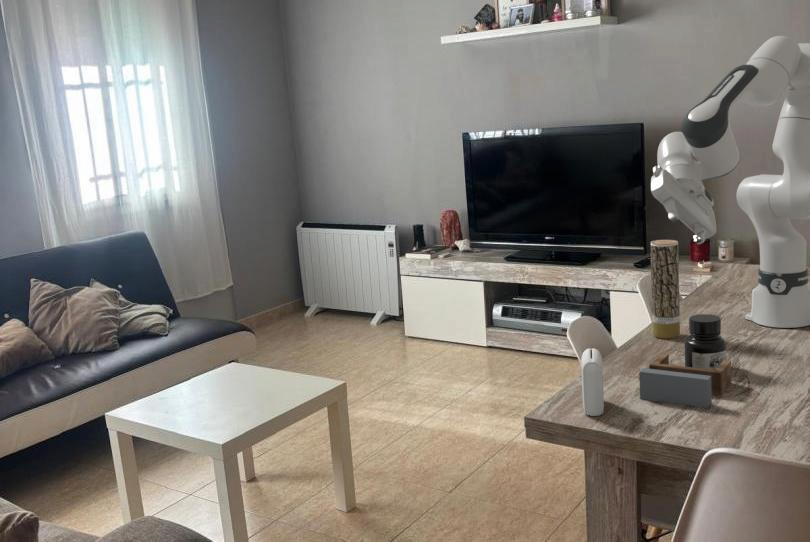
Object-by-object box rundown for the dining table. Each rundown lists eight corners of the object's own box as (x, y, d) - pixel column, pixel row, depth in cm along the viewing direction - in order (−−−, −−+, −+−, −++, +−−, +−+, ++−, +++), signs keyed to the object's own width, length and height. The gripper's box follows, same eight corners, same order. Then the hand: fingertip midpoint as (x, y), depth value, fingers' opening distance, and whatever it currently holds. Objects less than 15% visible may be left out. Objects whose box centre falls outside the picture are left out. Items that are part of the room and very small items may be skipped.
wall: (644, 394, 176) (643, 368, 175) (711, 403, 168) (711, 375, 166) (640, 398, 174) (639, 371, 173) (708, 408, 166) (707, 379, 164)
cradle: (662, 374, 187) (661, 353, 186) (731, 382, 178) (731, 360, 177) (649, 386, 180) (649, 364, 179) (720, 395, 171) (720, 372, 170)
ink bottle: (696, 377, 183) (695, 325, 181) (676, 365, 192) (675, 316, 190) (735, 371, 185) (735, 319, 183) (714, 360, 194) (713, 310, 191)
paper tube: (681, 339, 211) (679, 243, 206) (654, 339, 213) (651, 245, 208) (678, 331, 218) (676, 239, 213) (651, 332, 219) (649, 240, 214)
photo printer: (583, 398, 177) (580, 343, 174) (603, 398, 176) (601, 343, 173) (583, 417, 167) (580, 359, 164) (604, 417, 166) (602, 358, 163)
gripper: (665, 154, 182) (671, 197, 173) (717, 204, 191) (726, 247, 182) (641, 169, 186) (645, 212, 177) (694, 217, 195) (701, 260, 186)
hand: (687, 230), depth 179 cm, fingers open, 8 cm apart
